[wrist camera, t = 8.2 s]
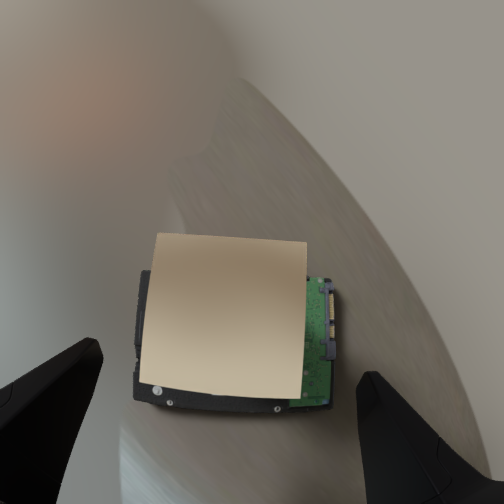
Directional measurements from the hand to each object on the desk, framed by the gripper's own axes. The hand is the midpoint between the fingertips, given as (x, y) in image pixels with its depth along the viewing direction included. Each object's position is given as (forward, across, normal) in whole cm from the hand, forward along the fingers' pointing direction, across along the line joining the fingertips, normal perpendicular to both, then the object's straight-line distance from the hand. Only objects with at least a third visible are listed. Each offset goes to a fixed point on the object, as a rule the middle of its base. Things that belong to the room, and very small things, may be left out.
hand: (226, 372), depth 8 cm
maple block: (+9, 0, +6) cm, 11 cm away
